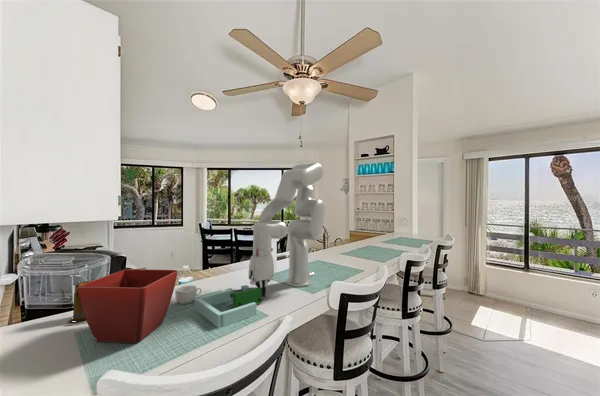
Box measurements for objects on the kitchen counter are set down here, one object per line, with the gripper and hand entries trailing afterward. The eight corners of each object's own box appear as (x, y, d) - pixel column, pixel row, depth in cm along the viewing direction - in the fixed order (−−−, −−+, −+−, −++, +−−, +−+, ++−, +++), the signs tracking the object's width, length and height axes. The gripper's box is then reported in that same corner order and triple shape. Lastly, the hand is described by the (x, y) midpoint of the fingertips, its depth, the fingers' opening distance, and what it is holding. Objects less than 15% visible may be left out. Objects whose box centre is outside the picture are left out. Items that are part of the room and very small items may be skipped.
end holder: (229, 299, 106) (229, 289, 106) (256, 314, 92) (256, 303, 92) (194, 309, 96) (194, 298, 96) (218, 328, 82) (218, 315, 82)
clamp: (252, 311, 104) (257, 288, 108) (259, 313, 100) (265, 288, 104) (225, 306, 99) (232, 281, 103) (231, 307, 94) (238, 281, 98)
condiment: (100, 312, 93) (100, 278, 93) (93, 322, 85) (94, 285, 85) (74, 315, 90) (75, 281, 90) (64, 326, 82) (65, 288, 82)
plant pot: (123, 317, 89) (124, 268, 89) (178, 318, 88) (179, 269, 89) (73, 348, 70) (75, 286, 70) (142, 350, 69) (143, 288, 70)
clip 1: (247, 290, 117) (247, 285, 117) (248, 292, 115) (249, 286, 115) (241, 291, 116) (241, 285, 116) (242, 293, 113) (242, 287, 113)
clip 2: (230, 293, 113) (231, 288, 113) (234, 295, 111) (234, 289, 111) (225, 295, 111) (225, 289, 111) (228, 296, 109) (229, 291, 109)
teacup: (178, 307, 98) (178, 293, 98) (172, 301, 103) (172, 287, 103) (204, 301, 104) (204, 287, 104) (197, 295, 110) (197, 282, 110)
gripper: (270, 248, 115) (270, 289, 115) (241, 253, 105) (241, 298, 104) (281, 251, 110) (281, 294, 109) (252, 256, 99) (251, 304, 99)
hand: (261, 296), depth 107 cm, fingers closed
